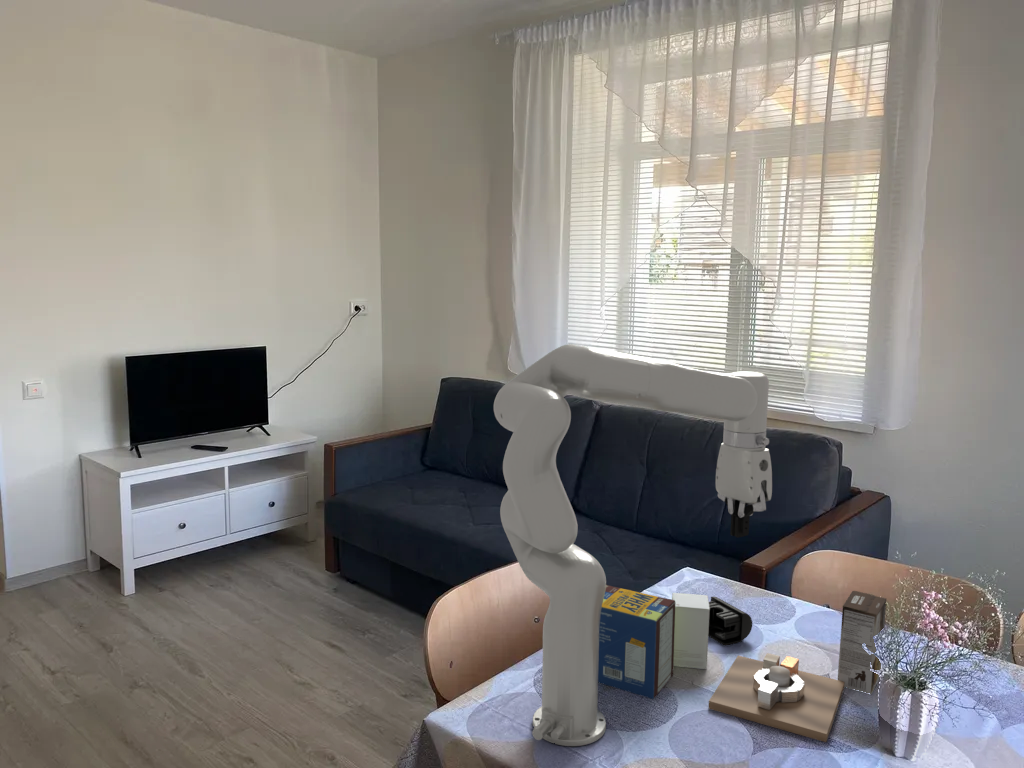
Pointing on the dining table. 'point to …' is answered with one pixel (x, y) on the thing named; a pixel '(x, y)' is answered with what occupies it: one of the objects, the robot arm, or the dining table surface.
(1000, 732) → the dining table surface
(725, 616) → the end cap
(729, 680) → the base
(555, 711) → the robot arm
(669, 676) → the protein box
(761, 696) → the segmented ring with arms
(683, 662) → the supplement box
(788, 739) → the dining table surface
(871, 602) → the coffee box
